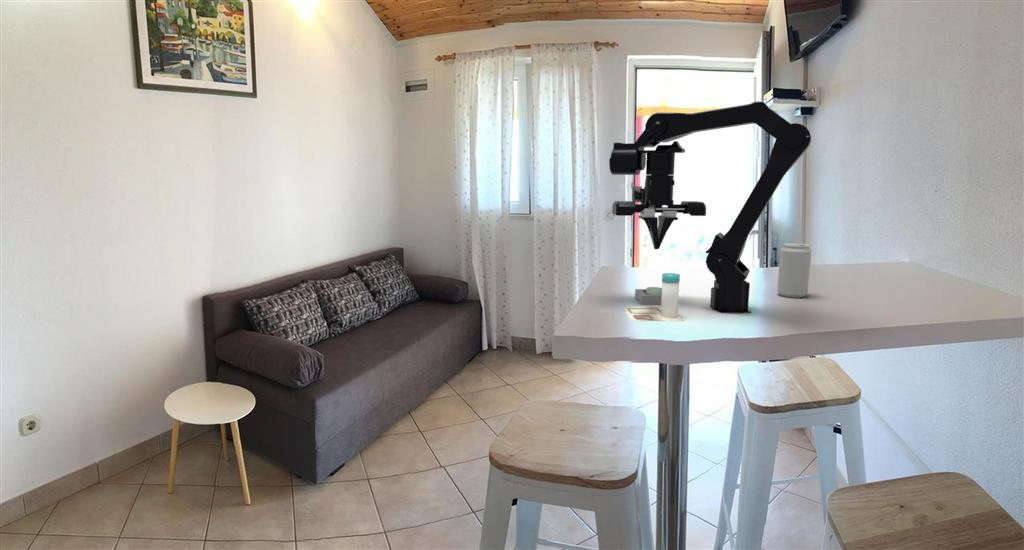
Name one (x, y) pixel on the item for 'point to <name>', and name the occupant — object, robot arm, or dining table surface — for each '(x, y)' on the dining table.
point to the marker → (670, 295)
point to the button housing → (647, 297)
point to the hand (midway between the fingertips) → (656, 248)
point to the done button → (653, 290)
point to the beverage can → (794, 270)
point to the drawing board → (647, 314)
